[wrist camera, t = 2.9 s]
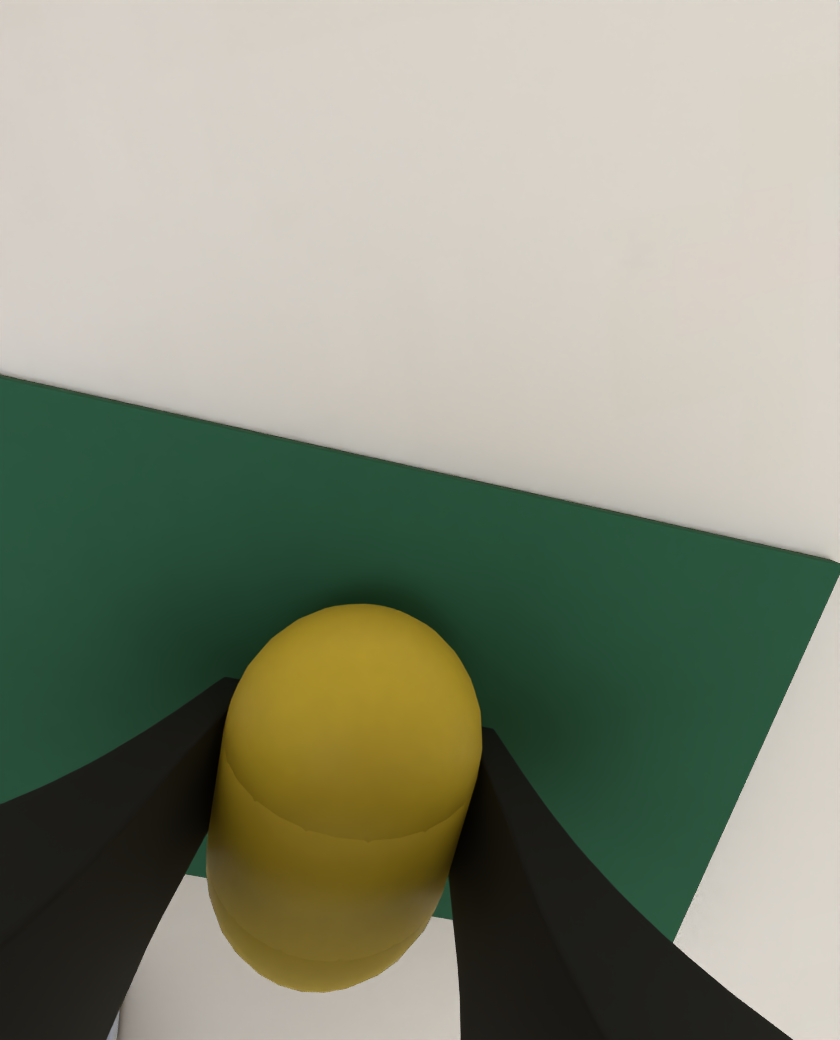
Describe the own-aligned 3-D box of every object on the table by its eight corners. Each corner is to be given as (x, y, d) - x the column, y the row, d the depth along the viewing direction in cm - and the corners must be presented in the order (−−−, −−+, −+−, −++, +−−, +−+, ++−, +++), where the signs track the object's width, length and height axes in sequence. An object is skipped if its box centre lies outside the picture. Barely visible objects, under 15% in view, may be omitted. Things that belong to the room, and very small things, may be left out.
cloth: (660, 942, 15) (667, 957, 14) (-48, 820, 14) (-61, 833, 13) (830, 559, 12) (845, 565, 11) (-49, 363, 11) (-67, 362, 10)
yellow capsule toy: (422, 843, 13) (424, 1085, 9) (240, 810, 13) (141, 1043, 8) (491, 593, 12) (541, 728, 7) (283, 549, 11) (189, 660, 7)
